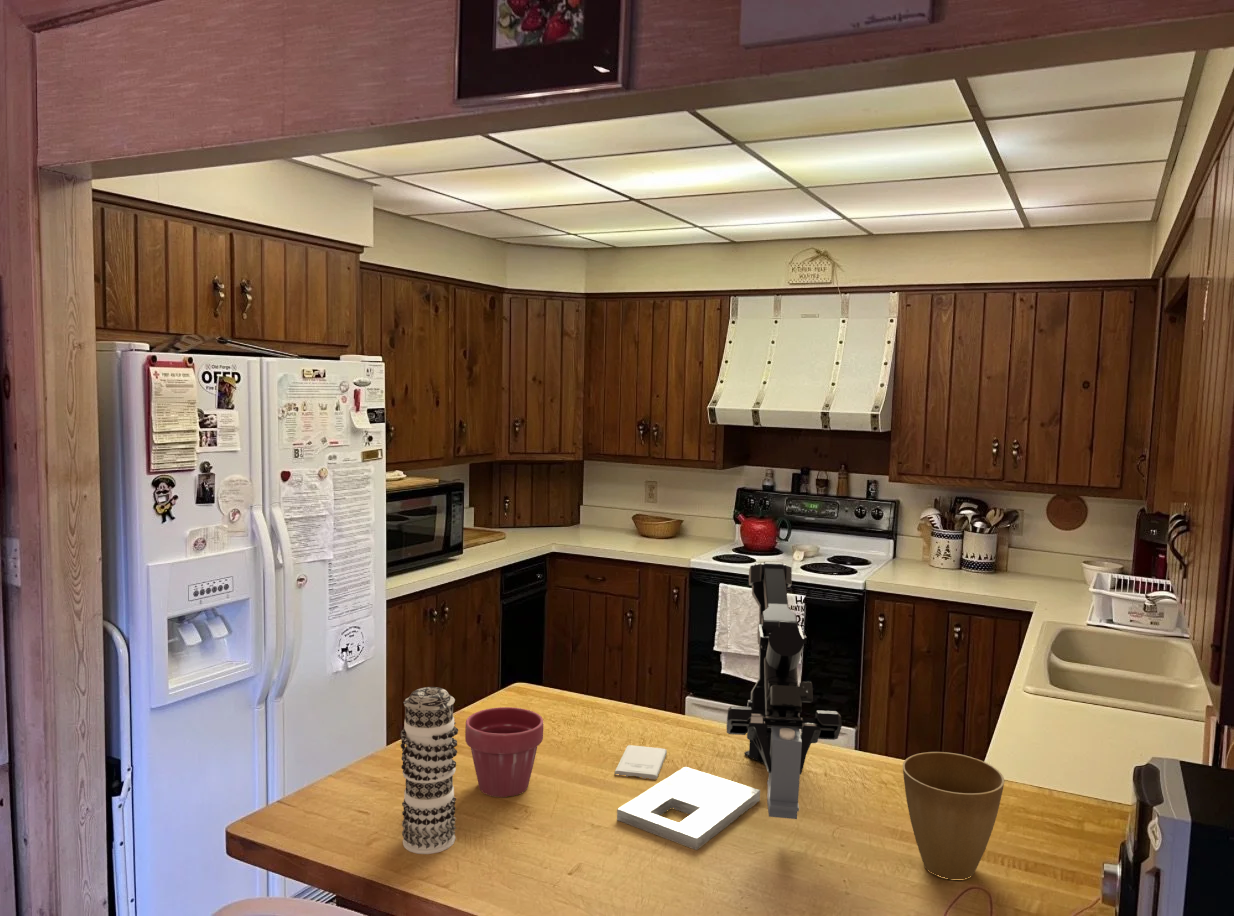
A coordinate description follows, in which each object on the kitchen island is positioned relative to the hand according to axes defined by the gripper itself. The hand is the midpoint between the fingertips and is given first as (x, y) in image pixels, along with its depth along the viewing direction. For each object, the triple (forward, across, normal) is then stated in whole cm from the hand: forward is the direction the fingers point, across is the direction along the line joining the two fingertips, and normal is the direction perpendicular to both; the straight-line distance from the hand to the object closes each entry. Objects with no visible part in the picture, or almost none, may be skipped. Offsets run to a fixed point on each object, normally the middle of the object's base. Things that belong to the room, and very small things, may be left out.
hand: (784, 772), depth 148 cm
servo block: (+4, 0, +6) cm, 7 cm away
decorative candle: (+13, -58, +5) cm, 59 cm away
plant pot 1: (-2, -50, +20) cm, 53 cm away
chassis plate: (+1, -15, +16) cm, 22 cm away
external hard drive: (-11, -25, +30) cm, 40 cm away
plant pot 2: (+12, +25, +6) cm, 29 cm away
